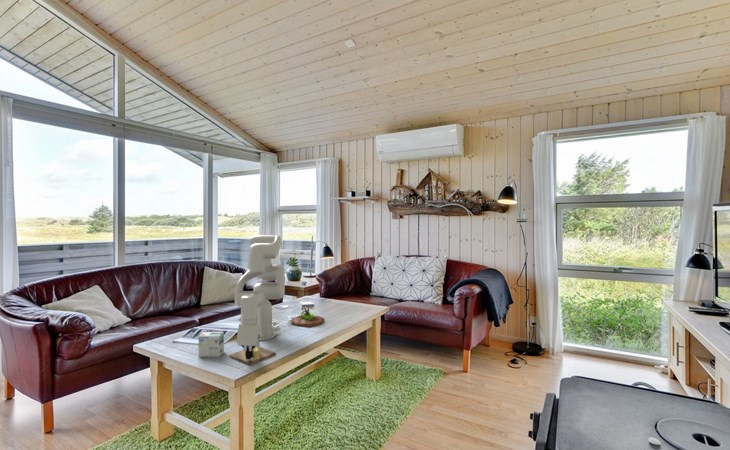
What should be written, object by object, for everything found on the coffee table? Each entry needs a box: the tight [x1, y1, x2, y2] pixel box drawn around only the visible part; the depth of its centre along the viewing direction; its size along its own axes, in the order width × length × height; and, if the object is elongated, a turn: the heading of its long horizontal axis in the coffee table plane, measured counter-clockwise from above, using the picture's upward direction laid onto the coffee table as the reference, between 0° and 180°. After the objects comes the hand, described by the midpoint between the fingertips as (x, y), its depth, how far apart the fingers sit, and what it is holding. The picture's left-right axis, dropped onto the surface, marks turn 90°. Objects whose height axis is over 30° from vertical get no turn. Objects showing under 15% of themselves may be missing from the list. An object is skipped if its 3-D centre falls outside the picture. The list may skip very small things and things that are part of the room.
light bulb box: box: [197, 331, 225, 358], centre depth 185 cm, size 11×7×11 cm, turn 92°
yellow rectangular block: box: [253, 346, 260, 360], centre depth 183 cm, size 15×6×4 cm, turn 31°
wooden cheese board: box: [229, 346, 277, 366], centre depth 184 cm, size 16×16×5 cm
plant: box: [291, 305, 325, 328], centre depth 240 cm, size 20×20×11 cm
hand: (249, 358), depth 176 cm, fingers closed
